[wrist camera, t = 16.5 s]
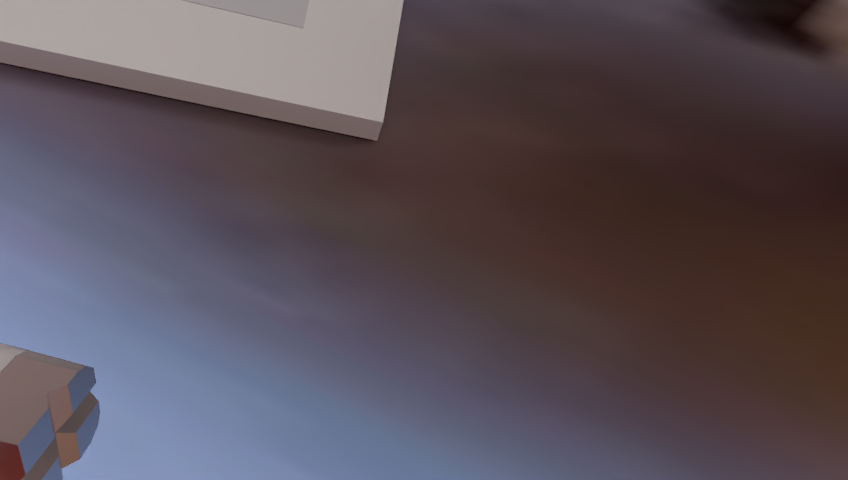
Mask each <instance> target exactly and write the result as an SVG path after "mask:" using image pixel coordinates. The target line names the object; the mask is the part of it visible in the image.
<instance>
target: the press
mask: <svg viewBox="0 0 848 480" xmlns="http://www.w3.org/2000/svg"><path fill="white" fill-rule="evenodd" d="M403 1H404V0H0V62H1V63H6V64H10V65H15V66H20V67H25V68H30V69H34V70H39V71H44V72H49V73H54V74H58V75H63V76H68V77H73V78H78V79H82V80H87V81H92V82H97V83H102V84H106V85H111V86H116V87H121V88H126V89H130V90H135V91H140V92H145V93H150V94H154V95H159V96H164V97H169V98H174V99H178V100H183V101H188V102H193V103H198V104H202V105H207V106H212V107H217V108H222V109H226V110H231V111H236V112H241V113H246V114H250V115H255V116H260V117H265V118H270V119H275V120H279V121H284V122H289V123H294V124H299V125H303V126H308V127H313V128H318V129H323V130H327V131H332V132H337V133H342V134H347V135H351V136H356V137H361V138H366V139H371V140H375V141H377V139H378V136H379V133H380V130H381V127H382V124H383V120H384V114H385V108H386V102H387V96H388V90H389V85H390V79H391V73H392V67H393V61H394V55H395V49H396V43H397V37H398V31H399V25H400V19H401V13H402V7H403Z"/></svg>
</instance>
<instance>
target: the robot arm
mask: <svg viewBox="0 0 848 480" xmlns="http://www.w3.org/2000/svg"><path fill="white" fill-rule="evenodd" d="M95 383H96V379H95V373H94V368H92V367H88V366H85V365H81V364H77V363H73V362H70V361H66V360H62V359H59V358H55V357H51V356H48V355H44V354H40V353H36V352H33V351H29V350H25V349H21V348H17V347H14V346H10V345H6V344H2V343H0V480H63V476H62V468H64V467H66V466H67V465H69V464H71V463H73V462H75V461H77V460H79V459H80V458H81V456H82V455H83V453H84V452H85V450H86V449H87V447H88V446H89V444H90V443H91V440H92V438H93V436H94V433H95V431H96V428H97V426H98V420H99V414H100V409H99V401H98V400H97V399H96V398H95V397H94V396H93V394H92V393H91V392H90V390H91V389H92V387H93V386H94V385H95Z"/></svg>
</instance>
